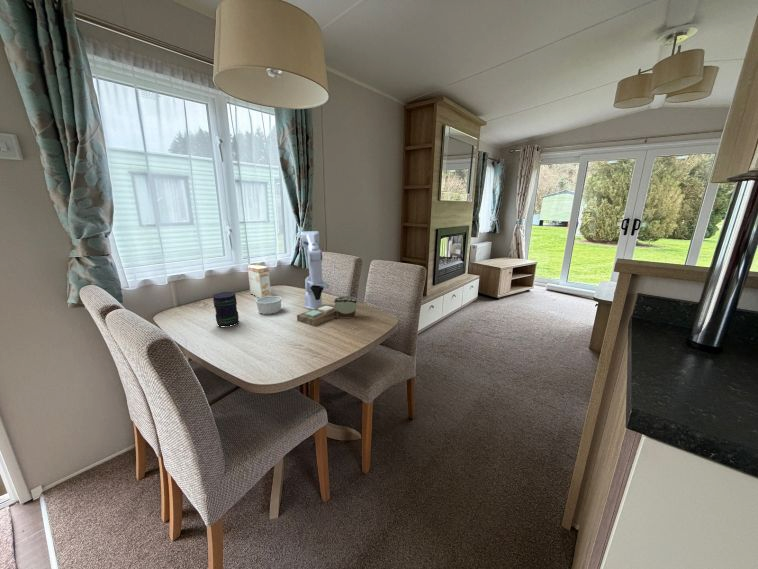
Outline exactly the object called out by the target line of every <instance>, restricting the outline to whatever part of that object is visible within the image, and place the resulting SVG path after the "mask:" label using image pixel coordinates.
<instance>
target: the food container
mask: <svg viewBox="0 0 758 569" xmlns="http://www.w3.org/2000/svg"><path fill="white" fill-rule="evenodd" d="M333 303H335V307H336V312H337V316H336V318H341V319H342V318H344V319H356V313H357V312H356V311H357V304H358V299H357V298H356V297H355V296H349V295H344V296H339V297H336V298H334V300H333Z"/></svg>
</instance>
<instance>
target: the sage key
mask: <svg viewBox="0 0 758 569" xmlns="http://www.w3.org/2000/svg"><path fill="white" fill-rule="evenodd" d="M311 310H312V311H310V310H309V311H310V312H307V311H306V312H307V313H305V315H306V316H309V317H312V318H314V317H316V316H319V315H321V314H322V312H319V311H315V310H313V309H311Z"/></svg>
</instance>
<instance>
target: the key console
mask: <svg viewBox="0 0 758 569" xmlns="http://www.w3.org/2000/svg"><path fill="white" fill-rule="evenodd" d="M323 305H324V306H330V307H334V310H331V311H329V312H322V311H319V310H318V308H321V307H324V306H321V307H318V308H315V309H310V310H308V311H304V312H302V313H299V314H296V321H297V322H300V323H303V324H306V325H309V326H312V327H315V326H317V325H320V324H321V323H324V322H327V321H329V320H331V319H332V320H333V319H334V318H335V317H336V318H337V312H336V306H332V305H327V304H323ZM312 310H315V311H319V312H322V314H321V315H319V316H316V317H314V318H312V317H309V316H306V315H305V313H307V312H310V311H312Z"/></svg>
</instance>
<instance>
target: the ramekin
mask: <svg viewBox="0 0 758 569" xmlns="http://www.w3.org/2000/svg"><path fill="white" fill-rule="evenodd" d="M282 302H283V301H282V297H281V296H279V295H277V296H276V295H271V296H266V297H261V298H257V299H256V300H255V303H256V306H257V310H258V313H260V314H261V313H262V315H273V314H272V313H274V314H277V313H279V312H280V311H281V310H282ZM276 312H277V313H276Z"/></svg>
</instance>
